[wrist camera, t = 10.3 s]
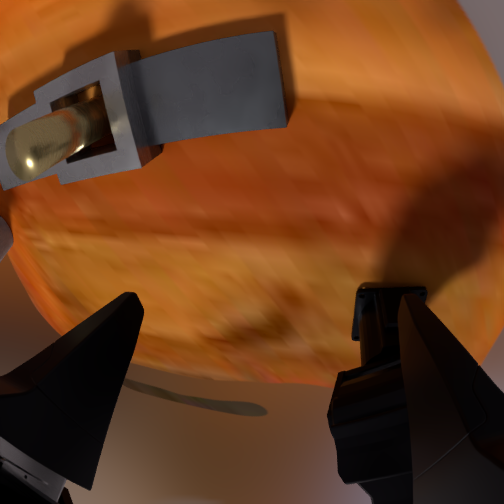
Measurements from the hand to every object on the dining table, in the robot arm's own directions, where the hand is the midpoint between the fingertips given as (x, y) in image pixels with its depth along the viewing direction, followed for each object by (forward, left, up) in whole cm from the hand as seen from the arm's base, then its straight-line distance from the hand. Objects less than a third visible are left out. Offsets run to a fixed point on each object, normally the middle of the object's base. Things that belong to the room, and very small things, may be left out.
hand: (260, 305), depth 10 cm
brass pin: (+6, +13, -13) cm, 19 cm away
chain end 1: (+6, +18, -13) cm, 23 cm away
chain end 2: (+6, +8, -13) cm, 17 cm away
